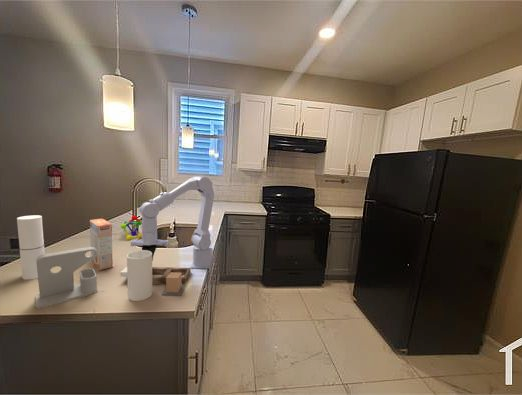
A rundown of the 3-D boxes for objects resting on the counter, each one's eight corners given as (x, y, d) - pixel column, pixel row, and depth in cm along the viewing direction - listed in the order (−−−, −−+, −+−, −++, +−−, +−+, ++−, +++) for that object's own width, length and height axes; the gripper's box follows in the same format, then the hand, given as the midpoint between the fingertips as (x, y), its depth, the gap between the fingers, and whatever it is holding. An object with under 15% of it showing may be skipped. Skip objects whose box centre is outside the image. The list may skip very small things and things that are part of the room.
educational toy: (140, 234, 160) (142, 213, 159) (148, 239, 152) (150, 216, 150) (115, 236, 149) (117, 213, 148) (122, 242, 140) (124, 217, 139)
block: (181, 286, 94) (181, 272, 93) (178, 292, 90) (178, 277, 89) (170, 286, 94) (170, 272, 93) (166, 292, 89) (166, 277, 88)
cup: (134, 288, 91) (133, 249, 89) (155, 288, 92) (155, 250, 90) (123, 301, 83) (122, 258, 81) (147, 301, 84) (146, 258, 82)
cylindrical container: (19, 281, 92) (13, 219, 89) (26, 273, 99) (21, 215, 95) (42, 277, 96) (38, 218, 92) (48, 270, 102) (44, 214, 98)
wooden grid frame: (190, 272, 107) (190, 267, 106) (185, 284, 97) (185, 278, 96) (150, 272, 105) (150, 267, 105) (140, 283, 95) (140, 277, 95)
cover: (151, 267, 104) (151, 263, 104) (143, 277, 96) (143, 272, 95) (131, 267, 104) (130, 262, 103) (120, 276, 95) (120, 272, 95)
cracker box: (113, 267, 108) (112, 223, 105) (98, 271, 104) (96, 225, 101) (105, 258, 117) (103, 217, 115) (90, 261, 113) (88, 219, 110)
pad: (185, 285, 95) (185, 284, 95) (180, 295, 88) (180, 294, 88) (167, 285, 95) (167, 284, 95) (162, 295, 88) (162, 294, 88)
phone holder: (94, 281, 95) (92, 239, 92) (99, 292, 88) (97, 246, 85) (35, 296, 83) (31, 248, 81) (35, 310, 76) (30, 257, 73)
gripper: (169, 228, 103) (170, 257, 105) (134, 228, 100) (135, 258, 102) (166, 233, 96) (166, 264, 98) (128, 233, 93) (129, 265, 95)
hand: (150, 261), depth 99 cm, fingers closed
